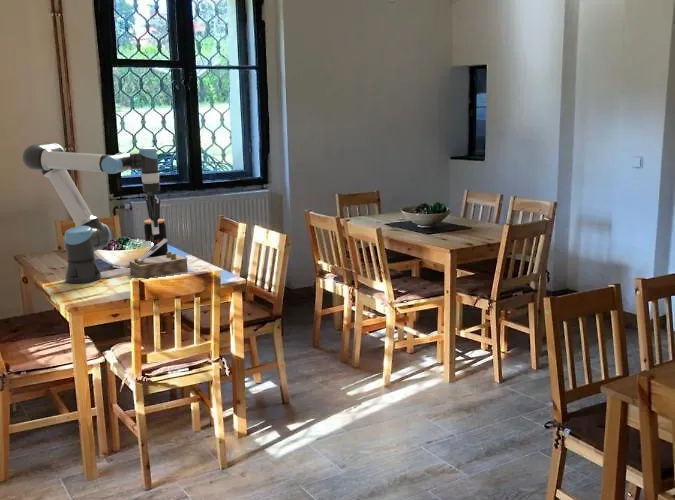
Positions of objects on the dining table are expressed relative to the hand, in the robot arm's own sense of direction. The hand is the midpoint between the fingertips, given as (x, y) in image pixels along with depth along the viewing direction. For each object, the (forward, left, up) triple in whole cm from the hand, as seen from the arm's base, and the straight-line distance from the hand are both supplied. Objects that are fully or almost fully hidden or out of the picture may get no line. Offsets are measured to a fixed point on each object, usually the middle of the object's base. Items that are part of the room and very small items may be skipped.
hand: (155, 233), depth 325 cm
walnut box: (0, 0, -18) cm, 18 cm away
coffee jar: (+14, +37, -18) cm, 44 cm away
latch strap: (-2, 0, -8) cm, 8 cm away
